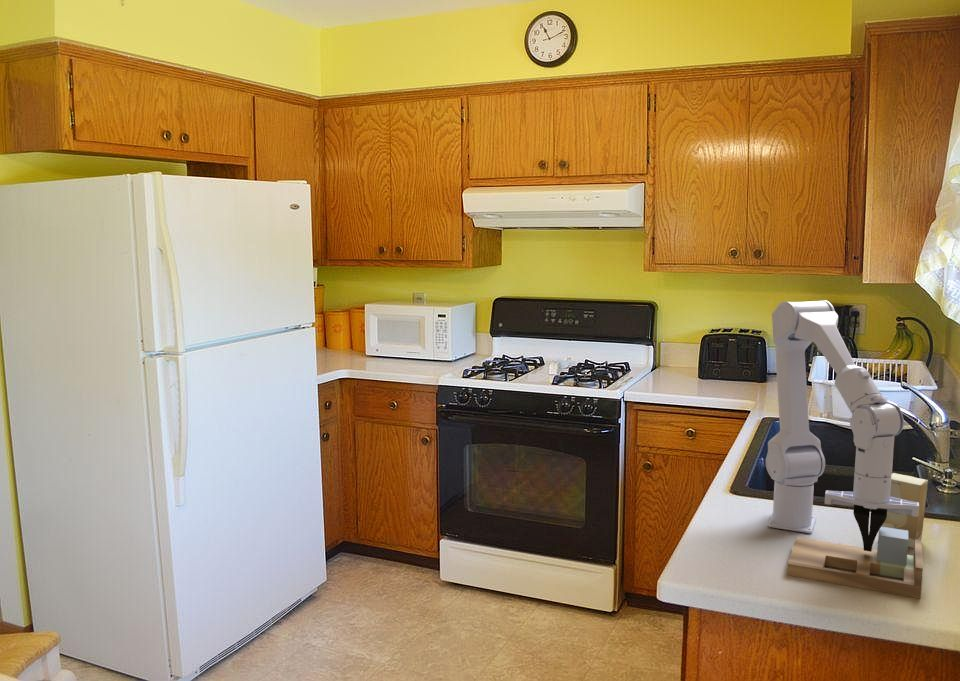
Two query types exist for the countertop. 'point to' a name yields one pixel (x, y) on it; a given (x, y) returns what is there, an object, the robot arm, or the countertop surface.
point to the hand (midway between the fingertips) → (867, 549)
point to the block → (892, 545)
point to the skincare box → (909, 491)
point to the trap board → (856, 567)
